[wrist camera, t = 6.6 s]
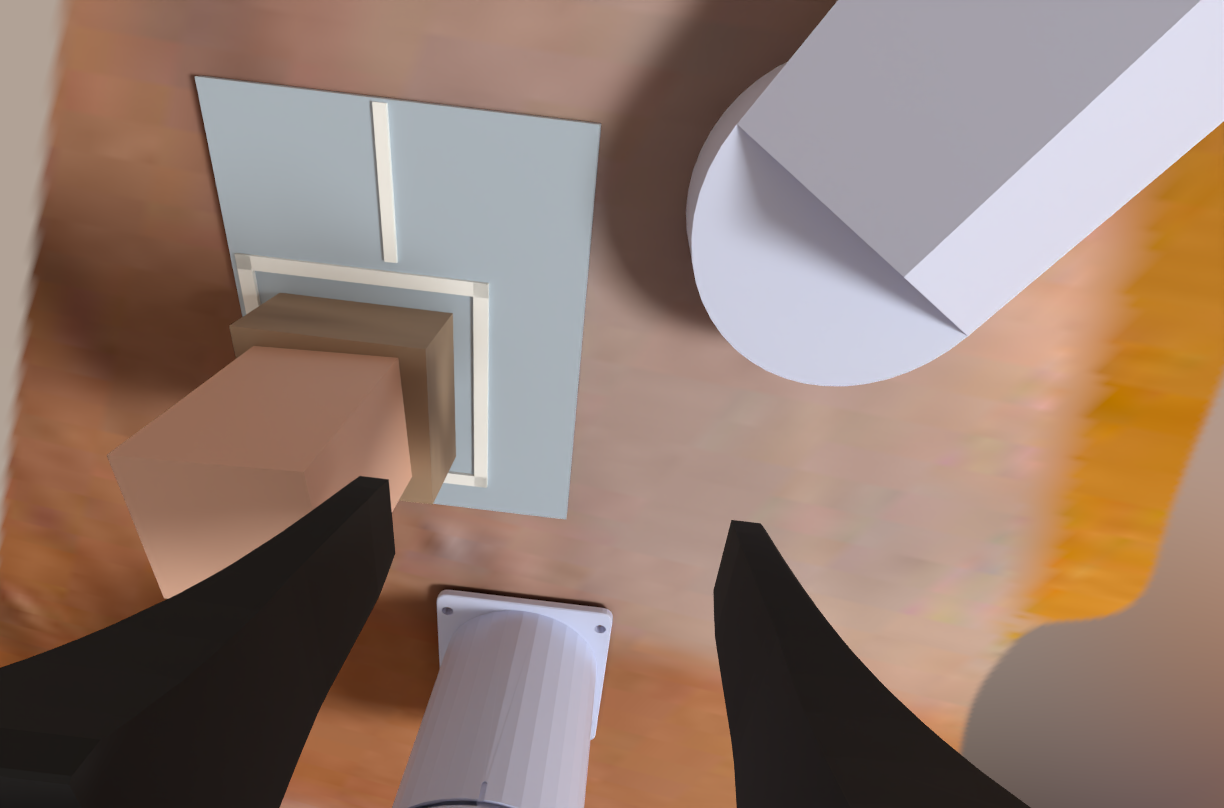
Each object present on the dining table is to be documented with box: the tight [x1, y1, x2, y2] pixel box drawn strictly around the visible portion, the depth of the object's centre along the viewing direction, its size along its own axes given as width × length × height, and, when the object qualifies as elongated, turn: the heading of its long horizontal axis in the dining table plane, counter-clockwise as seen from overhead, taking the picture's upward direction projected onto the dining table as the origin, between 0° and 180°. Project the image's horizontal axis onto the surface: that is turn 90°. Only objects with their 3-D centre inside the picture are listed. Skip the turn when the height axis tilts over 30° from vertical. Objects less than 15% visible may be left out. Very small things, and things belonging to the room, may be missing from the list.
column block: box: [107, 346, 412, 599], centre depth 18 cm, size 4×4×6 cm
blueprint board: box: [195, 76, 601, 519], centre depth 22 cm, size 15×12×1 cm
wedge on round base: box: [686, 0, 1224, 386], centre depth 16 cm, size 9×7×13 cm
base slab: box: [229, 293, 456, 505], centre depth 22 cm, size 6×6×3 cm
